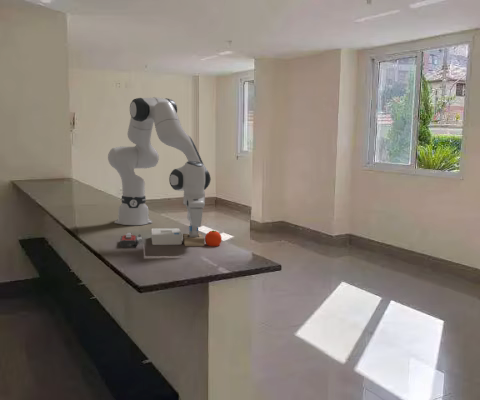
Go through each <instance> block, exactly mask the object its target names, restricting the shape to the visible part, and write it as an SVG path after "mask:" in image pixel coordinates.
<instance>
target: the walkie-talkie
mask: <svg viewBox="0 0 480 400" xmlns="http://www.w3.org/2000/svg"><path fill="white" fill-rule="evenodd" d="M142 242H143V237H142V236H141V234H138V235H134V234H132V232H126V233H125V234H123V235H122V236H121V237H120V240H119V248H137V246H138V245H141V244H142Z"/></svg>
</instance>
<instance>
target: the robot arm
mask: <svg viewBox="0 0 480 400" xmlns="http://www.w3.org/2000/svg"><path fill="white" fill-rule="evenodd" d="M129 113H130V114H129V115H130V120H129V124H128V129H127V138H128V140H129V141H130V142H131V143H132V144H135V145H134V146H115V147H112V148H111V149H110V150H109V152H108V155H107V160H108V163H109V164H110V166H111V167H112V168H113V169H115V170H116V172H117V173H118V174H119V176H120V179H121V188H122V195H121V204H120V205H119V206H118V208H117V209H118V215H117V216H118V217H117V219H115V220H114V224H118V225H123V226H141V225H142V226H143V225H148V224H153V220H152V219H150V218H149V216H150V215H149V207H148V205H147V204H146V201H147V200H146V199H147V197H146V194H145V193H146V187H145V186H146V183H145V180H144V178H142V177H141V176H140V175H137V174H136V172H135V169H150V168H151V169H152V168H155V167H156V166H157V165H158V163H159V160H160V157H159V156H160V155H159V153H158V151H157V150H156V148H155V147H154V146H153V144H152V143H151V139H152V138H151V137H152V132H153V128H155V131H156V135H157V137H158V139H159V141H160V142H161V143H163V144H164V145H166V146H169V147H172V148H174V149H177V150H179V151H180V152H182V153H183V154H184V156H186V157H185V158H186V160H187V161H186V162H185V163H184V164H183V166H180V167H178V168H174V169H173V170H171V172H170V174H169V176H168V177H169V178H168V179H169V184H170V186H171V188H172V189H173V190H175V191H179V192H181V191H182V192H183V206H186V210H187V212H186V214H187V217H186V218H187V220H188V222H189V226H192V235H196V234H197V227H198V228H199V227H201V225H202V221H203V212H204V210H203V209H204V208H205V205H206V203H205V202H206V192H205V191H206V189H207V188H208V187H209V185H210V184H211V180H212V179H211V174H210V172H209V170H208V169H207V167H206V166H205V164H204V162H203V160H202V158H201V156H200V154H199V151H198V148H197V147H196V144H195V142H194V141H193V139H192V138H191V136H190V135H188V134H187V132H186V131H185V130H184V128H183V126H182V124H181V121H180V118H179V116H178V105H177V104H176V102H175V100H173V99H172V98H171V99H170V98H164V97H143V98H142V97H137V98H134V99H133V100H132V101H131V102H130V104H129Z"/></svg>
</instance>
